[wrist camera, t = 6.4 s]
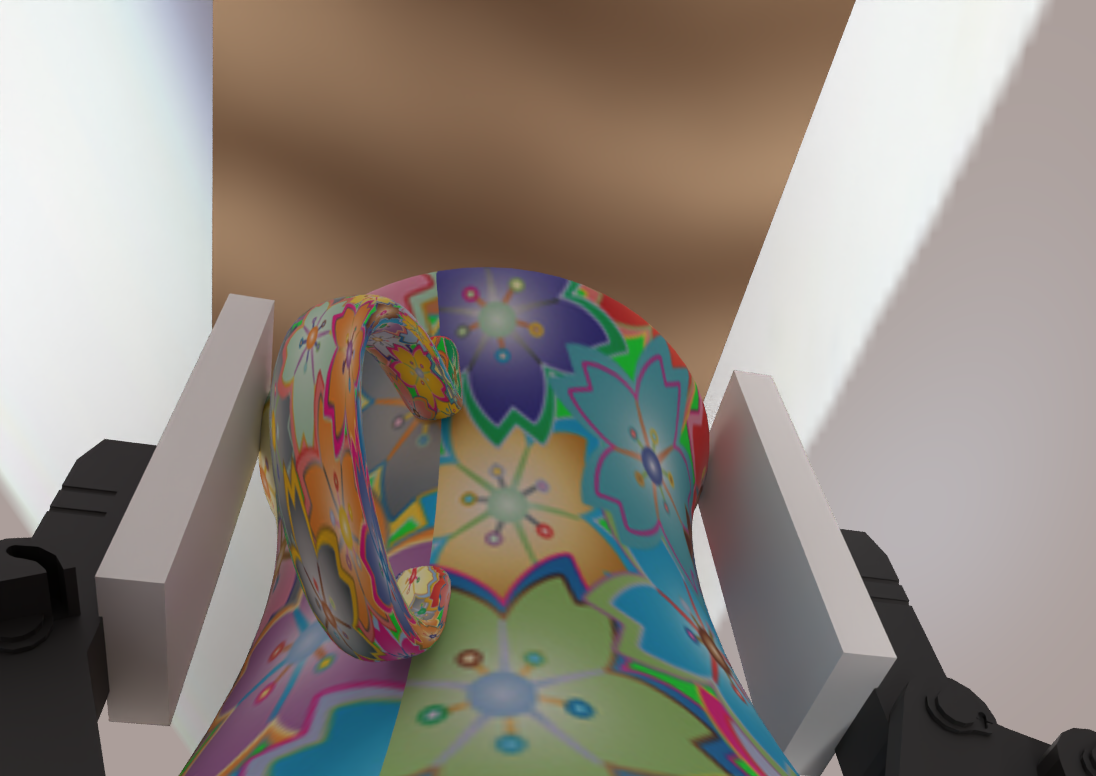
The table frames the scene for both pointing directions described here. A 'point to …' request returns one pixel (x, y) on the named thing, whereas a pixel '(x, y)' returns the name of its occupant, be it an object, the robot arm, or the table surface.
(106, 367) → the table surface
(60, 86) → the table surface
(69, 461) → the table surface
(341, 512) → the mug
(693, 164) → the stool
